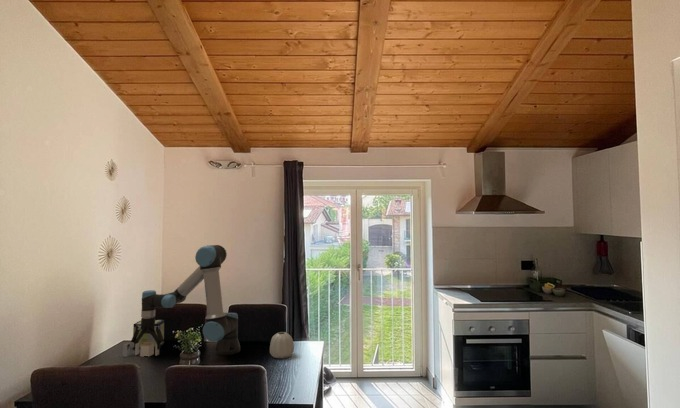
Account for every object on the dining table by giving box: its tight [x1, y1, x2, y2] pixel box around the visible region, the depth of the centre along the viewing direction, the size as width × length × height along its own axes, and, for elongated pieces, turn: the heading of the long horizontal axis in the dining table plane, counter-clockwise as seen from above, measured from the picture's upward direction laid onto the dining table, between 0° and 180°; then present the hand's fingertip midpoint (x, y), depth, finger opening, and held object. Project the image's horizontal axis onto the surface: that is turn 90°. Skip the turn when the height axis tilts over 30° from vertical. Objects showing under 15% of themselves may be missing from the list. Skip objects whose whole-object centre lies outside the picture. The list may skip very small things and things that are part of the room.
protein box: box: [132, 319, 165, 350], centre depth 245 cm, size 10×16×16 cm
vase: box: [269, 331, 295, 359], centre depth 224 cm, size 14×14×13 cm
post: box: [122, 342, 131, 358], centre depth 226 cm, size 3×3×7 cm
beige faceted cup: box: [139, 342, 155, 357], centre depth 228 cm, size 5×5×7 cm
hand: (147, 354), depth 228 cm, fingers open, 12 cm apart
